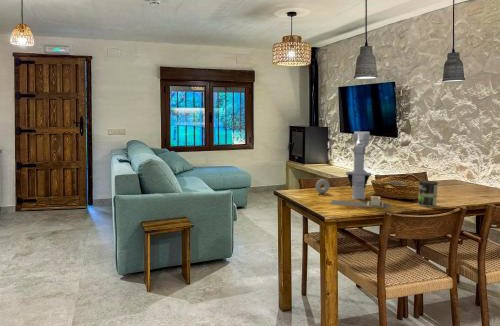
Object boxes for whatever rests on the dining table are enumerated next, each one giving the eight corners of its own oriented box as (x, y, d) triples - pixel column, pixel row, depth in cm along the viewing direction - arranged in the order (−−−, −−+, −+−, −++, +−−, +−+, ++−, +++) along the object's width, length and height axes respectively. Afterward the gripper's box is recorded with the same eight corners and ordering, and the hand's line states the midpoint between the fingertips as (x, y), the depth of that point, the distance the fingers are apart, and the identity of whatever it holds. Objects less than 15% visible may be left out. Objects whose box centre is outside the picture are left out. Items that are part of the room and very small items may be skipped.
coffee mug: (407, 199, 269) (408, 183, 268) (393, 199, 267) (394, 184, 266) (395, 195, 282) (396, 180, 281) (381, 195, 280) (382, 180, 279)
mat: (332, 200, 262) (332, 199, 262) (390, 204, 252) (390, 204, 252) (330, 205, 249) (330, 204, 249) (390, 209, 240) (390, 208, 240)
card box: (379, 207, 243) (380, 199, 242) (370, 206, 244) (371, 198, 244) (379, 204, 252) (380, 196, 251) (371, 203, 253) (371, 195, 252)
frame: (367, 202, 256) (367, 200, 256) (383, 203, 253) (383, 201, 253) (367, 206, 243) (367, 205, 243) (383, 208, 241) (383, 206, 241)
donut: (316, 194, 281) (317, 179, 280) (314, 193, 285) (314, 178, 283) (330, 193, 284) (330, 179, 283) (327, 192, 287) (328, 178, 286)
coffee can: (425, 207, 246) (426, 183, 245) (414, 203, 256) (415, 180, 254) (440, 206, 249) (441, 182, 247) (428, 202, 259) (430, 180, 257)
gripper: (346, 165, 252) (345, 187, 254) (371, 166, 248) (370, 189, 249) (346, 164, 259) (346, 185, 260) (371, 165, 255) (370, 187, 256)
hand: (357, 187), depth 255 cm, fingers open, 7 cm apart
